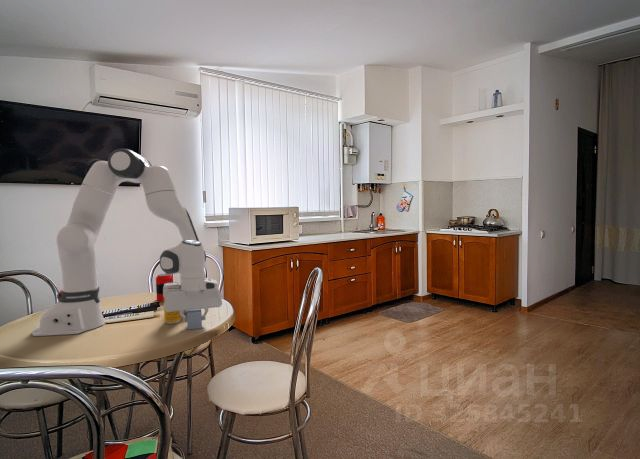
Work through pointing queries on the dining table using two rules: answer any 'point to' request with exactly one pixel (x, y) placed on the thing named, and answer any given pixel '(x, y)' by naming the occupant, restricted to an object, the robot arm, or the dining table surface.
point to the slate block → (194, 319)
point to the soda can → (162, 285)
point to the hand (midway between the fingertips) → (194, 320)
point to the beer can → (171, 316)
